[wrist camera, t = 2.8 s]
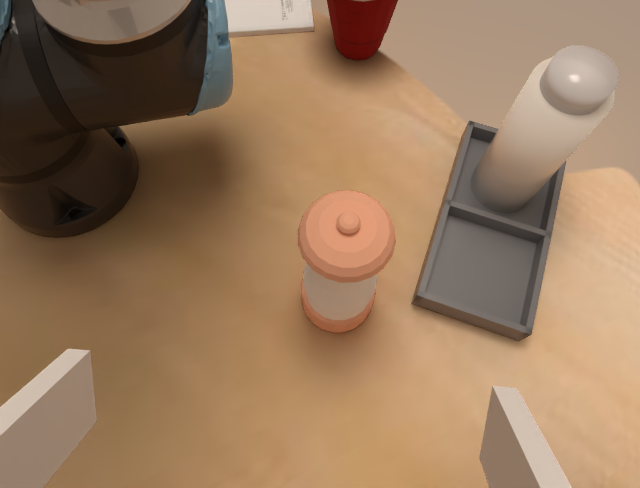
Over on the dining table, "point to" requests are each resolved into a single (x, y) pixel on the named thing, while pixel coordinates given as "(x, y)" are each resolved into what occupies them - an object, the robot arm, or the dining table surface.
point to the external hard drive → (268, 17)
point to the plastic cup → (360, 25)
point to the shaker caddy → (487, 250)
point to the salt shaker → (545, 126)
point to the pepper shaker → (343, 257)
